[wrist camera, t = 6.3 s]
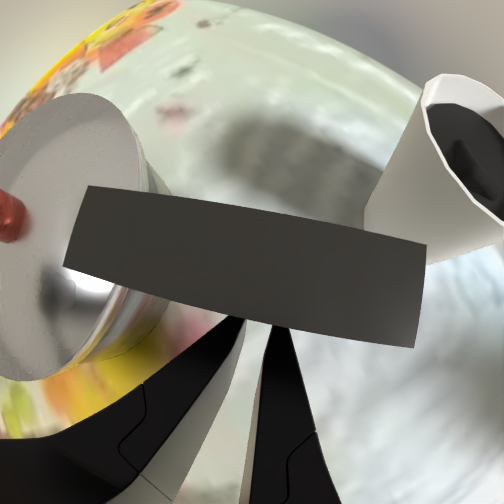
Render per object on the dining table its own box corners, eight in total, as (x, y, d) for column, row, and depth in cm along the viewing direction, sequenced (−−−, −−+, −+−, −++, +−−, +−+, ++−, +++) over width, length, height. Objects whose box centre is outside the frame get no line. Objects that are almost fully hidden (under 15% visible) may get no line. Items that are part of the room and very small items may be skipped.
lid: (315, 493, 8) (327, 560, 4) (-47, 317, 12) (-89, 310, 8) (383, 126, 12) (411, 60, 7) (15, 116, 15) (-15, 88, 11)
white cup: (437, 290, 16) (554, 258, 6) (344, 258, 17) (415, 184, 7) (450, 198, 17) (536, 120, 7) (366, 164, 18) (418, 51, 8)
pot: (281, 429, 15) (280, 479, 9) (-11, 305, 18) (-57, 296, 13) (332, 186, 18) (351, 131, 12) (34, 155, 21) (-4, 126, 16)
